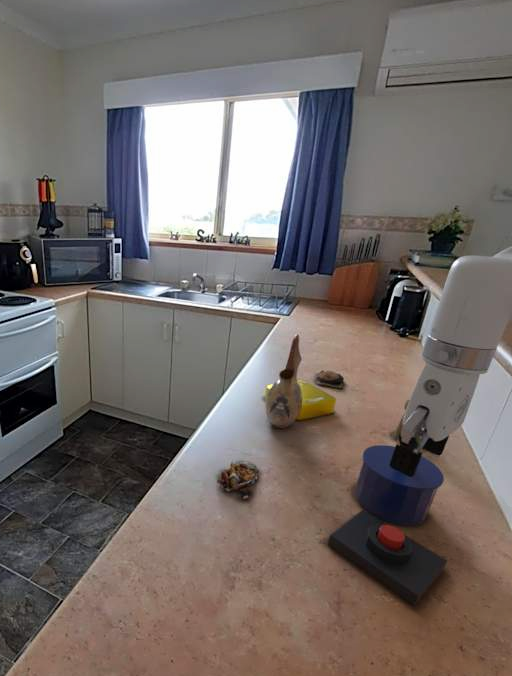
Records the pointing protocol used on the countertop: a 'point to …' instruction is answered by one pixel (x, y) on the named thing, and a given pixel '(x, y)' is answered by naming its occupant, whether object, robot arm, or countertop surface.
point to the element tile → (313, 401)
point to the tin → (392, 499)
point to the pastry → (239, 477)
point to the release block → (388, 557)
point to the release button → (391, 537)
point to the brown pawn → (399, 427)
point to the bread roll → (330, 379)
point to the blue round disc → (379, 464)
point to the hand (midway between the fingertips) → (415, 460)
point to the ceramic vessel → (286, 392)
